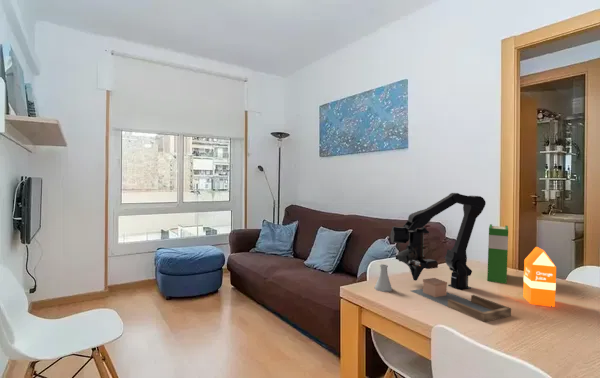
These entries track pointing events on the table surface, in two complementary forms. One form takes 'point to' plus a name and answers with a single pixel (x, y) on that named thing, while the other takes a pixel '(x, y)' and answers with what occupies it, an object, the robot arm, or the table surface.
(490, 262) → the hardback book
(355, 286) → the table surface
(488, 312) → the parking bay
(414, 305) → the table surface
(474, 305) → the runner mat
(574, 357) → the table surface
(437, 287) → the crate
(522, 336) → the table surface
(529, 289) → the orange juice
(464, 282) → the robot arm
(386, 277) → the flask
